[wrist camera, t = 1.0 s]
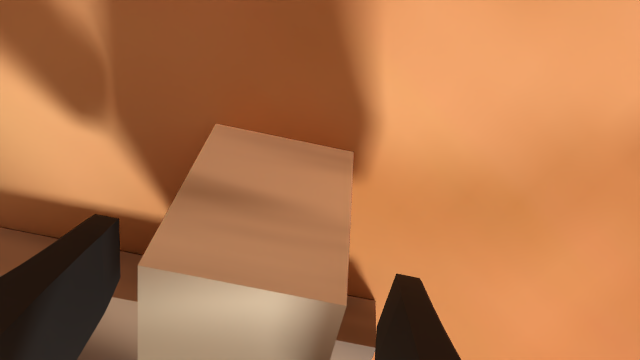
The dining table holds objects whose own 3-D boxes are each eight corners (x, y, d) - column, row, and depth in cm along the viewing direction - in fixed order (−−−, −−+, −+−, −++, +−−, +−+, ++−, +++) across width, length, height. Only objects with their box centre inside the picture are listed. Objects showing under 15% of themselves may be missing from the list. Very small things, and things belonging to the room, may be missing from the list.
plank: (329, 432, 22) (326, 481, 21) (-197, 334, 22) (-246, 376, 20) (375, 300, 18) (375, 348, 16) (-280, 172, 17) (-352, 208, 16)
